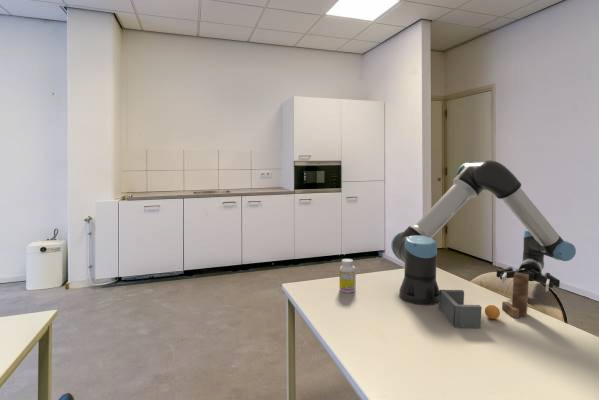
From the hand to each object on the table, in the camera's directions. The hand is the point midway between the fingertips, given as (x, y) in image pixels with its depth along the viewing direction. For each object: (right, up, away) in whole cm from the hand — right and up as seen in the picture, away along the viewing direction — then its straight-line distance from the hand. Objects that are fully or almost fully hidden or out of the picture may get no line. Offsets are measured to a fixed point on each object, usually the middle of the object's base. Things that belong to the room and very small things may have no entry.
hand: (524, 283), depth 126 cm
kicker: (-8, -9, -7) cm, 14 cm away
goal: (-28, -9, -9) cm, 31 cm away
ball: (-17, -7, -10) cm, 21 cm away
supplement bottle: (-62, -7, +18) cm, 65 cm away
